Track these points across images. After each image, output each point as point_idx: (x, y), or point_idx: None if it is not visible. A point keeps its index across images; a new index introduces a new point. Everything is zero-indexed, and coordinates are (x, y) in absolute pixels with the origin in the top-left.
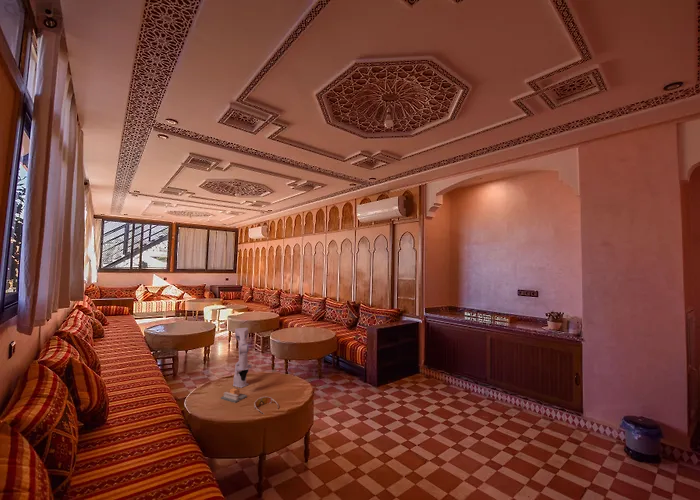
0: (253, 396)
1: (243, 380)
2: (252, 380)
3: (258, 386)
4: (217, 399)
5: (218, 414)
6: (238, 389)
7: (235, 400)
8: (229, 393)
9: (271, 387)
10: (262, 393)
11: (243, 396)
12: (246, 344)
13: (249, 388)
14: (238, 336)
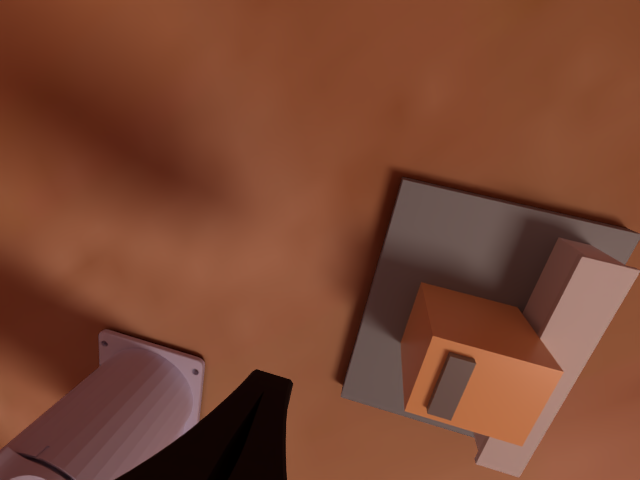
0: (370, 93)
1: (290, 388)
2: (18, 337)
3: (95, 202)
4: (532, 459)
5: None
6: (456, 335)
7: (603, 251)
8: None
9: (37, 8)
10: (243, 16)
11: (448, 211)
12: None
13: (180, 274)
14: None
